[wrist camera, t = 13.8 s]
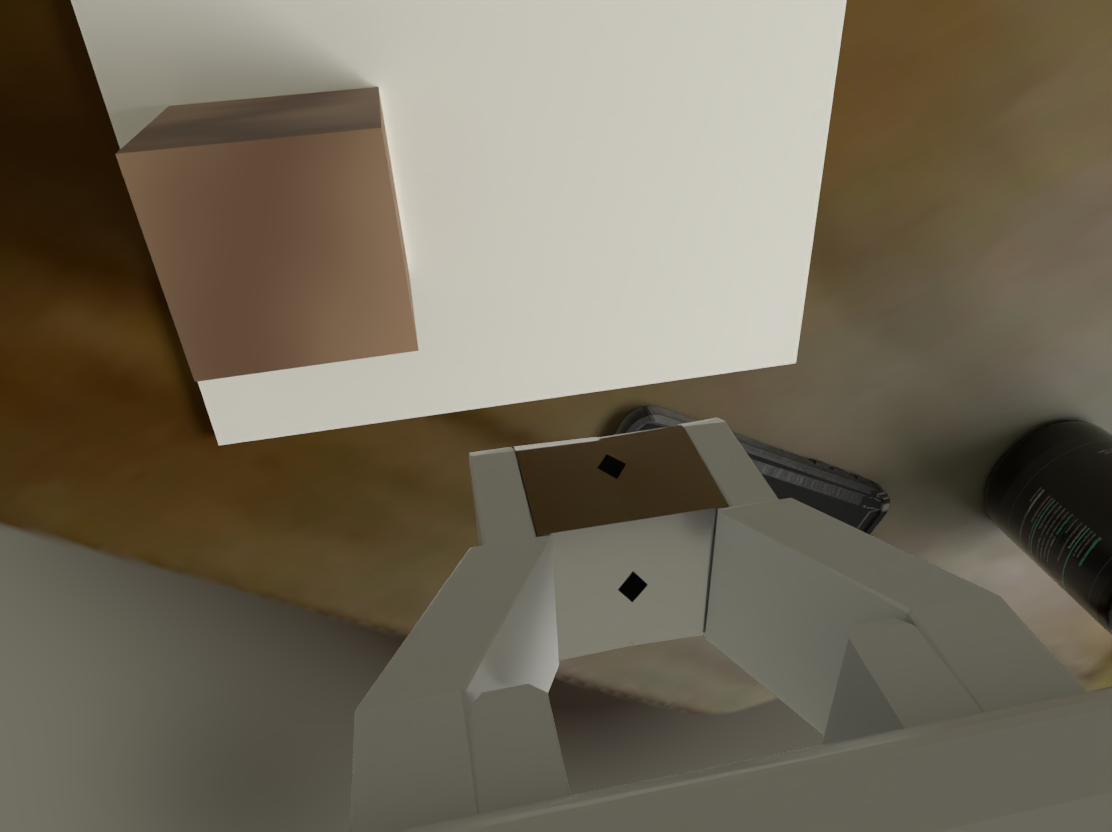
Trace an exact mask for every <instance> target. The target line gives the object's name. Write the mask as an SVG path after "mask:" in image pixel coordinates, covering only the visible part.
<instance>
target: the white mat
mask: <svg viewBox="0 0 1112 832" xmlns="http://www.w3.org/2000/svg"><path fill="white" fill-rule="evenodd" d="M846 1H847V0H71V3H72V6H73V9H74V12H75V15H76V18H77V21H78V24H79V27H80V30H81V33H82V36H83V39H84V42H85V45H86V48H87V51H88V54H89V57H90V60H91V63H92V66H93V69H94V72H95V75H96V78H97V81H98V84H99V87H100V90H101V93H102V96H103V99H104V102H105V105H106V108H107V111H108V114H109V117H110V120H111V123H112V126H113V129H114V132H115V135H116V138H117V141H118V144H119V147H120V149H121V148H122V147H124V146H125V145H126V144H127V143H128V142H129V141H130V140H131V139H132V138H134V137H135V136H136V135H137V134H138V133H139V132H140V131H141V130H143V129H144V128H145V127H146V126H147V125H148V124H149V123H150V122H151V121H153V120H154V119H155V118H156V117H157V116H158V115H159V114H160V113H162V112H163V111H164V110H165V109H166V108H167V107H168V106H173V105H179V104H190V103H201V102H212V101H223V100H234V99H245V98H256V97H267V96H278V95H289V94H300V93H311V92H322V91H333V90H344V89H355V88H366V87H379V93H380V100H381V106H382V112H383V118H384V124H385V130H386V136H387V142H388V148H389V155H390V161H391V167H392V173H393V179H394V185H395V191H396V197H397V203H398V209H399V216H400V222H401V228H402V234H403V240H404V246H405V252H406V258H407V264H408V270H409V277H410V285H411V294H412V302H413V310H414V318H415V326H416V334H417V342H418V350H419V351H412V352H405V353H398V354H391V355H384V356H376V357H369V358H362V359H355V360H348V361H341V362H334V363H326V364H319V365H312V366H305V367H298V368H291V369H283V370H276V371H269V372H262V373H255V374H248V375H241V376H233V377H226V378H219V379H212V380H205V381H198V385H199V388H200V391H201V394H202V397H203V400H204V403H205V406H206V409H207V412H208V415H209V418H210V421H211V424H212V427H213V430H214V433H215V436H216V439H217V442H218V445H226V444H233V443H240V442H247V441H254V440H261V439H268V438H275V437H282V436H289V435H296V434H303V433H310V432H317V431H324V430H331V429H338V428H345V427H352V426H359V425H366V424H373V423H380V422H387V421H394V420H401V419H408V418H415V417H422V416H429V415H436V414H443V413H450V412H457V411H464V410H471V409H478V408H485V407H492V406H499V405H506V404H513V403H520V402H527V401H534V400H542V399H549V398H556V397H563V396H570V395H577V394H584V393H591V392H598V391H605V390H612V389H619V388H626V387H633V386H640V385H647V384H654V383H661V382H668V381H675V380H682V379H689V378H696V377H703V376H710V375H717V374H724V373H731V372H738V371H745V370H752V369H759V368H766V367H773V366H780V365H787V364H794V363H796V359H797V352H798V345H799V338H800V331H801V323H802V316H803V309H804V302H805V295H806V288H807V280H808V273H809V266H810V259H811V252H812V245H813V237H814V230H815V223H816V216H817V209H818V201H819V194H820V187H821V180H822V173H823V166H824V158H825V151H826V144H827V137H828V130H829V123H830V115H831V108H832V101H833V94H834V87H835V80H836V72H837V65H838V58H839V51H840V44H841V37H842V29H843V22H844V15H845V8H846Z"/></svg>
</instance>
